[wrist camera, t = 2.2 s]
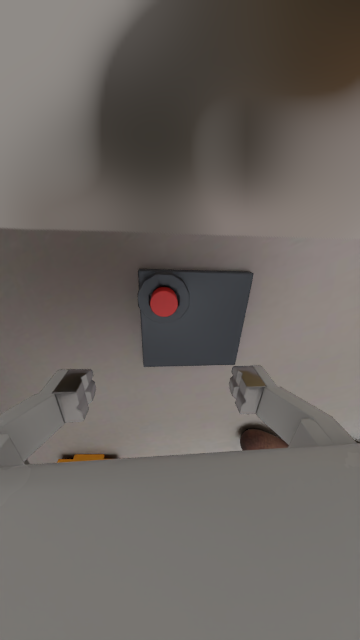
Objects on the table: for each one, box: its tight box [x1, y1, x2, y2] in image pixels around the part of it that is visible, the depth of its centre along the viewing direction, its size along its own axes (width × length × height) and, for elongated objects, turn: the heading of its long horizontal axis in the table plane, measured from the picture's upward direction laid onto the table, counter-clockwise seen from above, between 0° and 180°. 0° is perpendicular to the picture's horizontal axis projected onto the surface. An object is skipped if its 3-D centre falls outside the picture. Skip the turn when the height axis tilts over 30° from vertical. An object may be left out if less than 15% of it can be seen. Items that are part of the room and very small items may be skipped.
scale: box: [138, 269, 253, 367], centre depth 24 cm, size 14×14×3 cm
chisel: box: [240, 429, 289, 451], centre depth 39 cm, size 5×43×5 cm, turn 71°
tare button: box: [150, 287, 178, 317], centre depth 20 cm, size 3×3×2 cm
